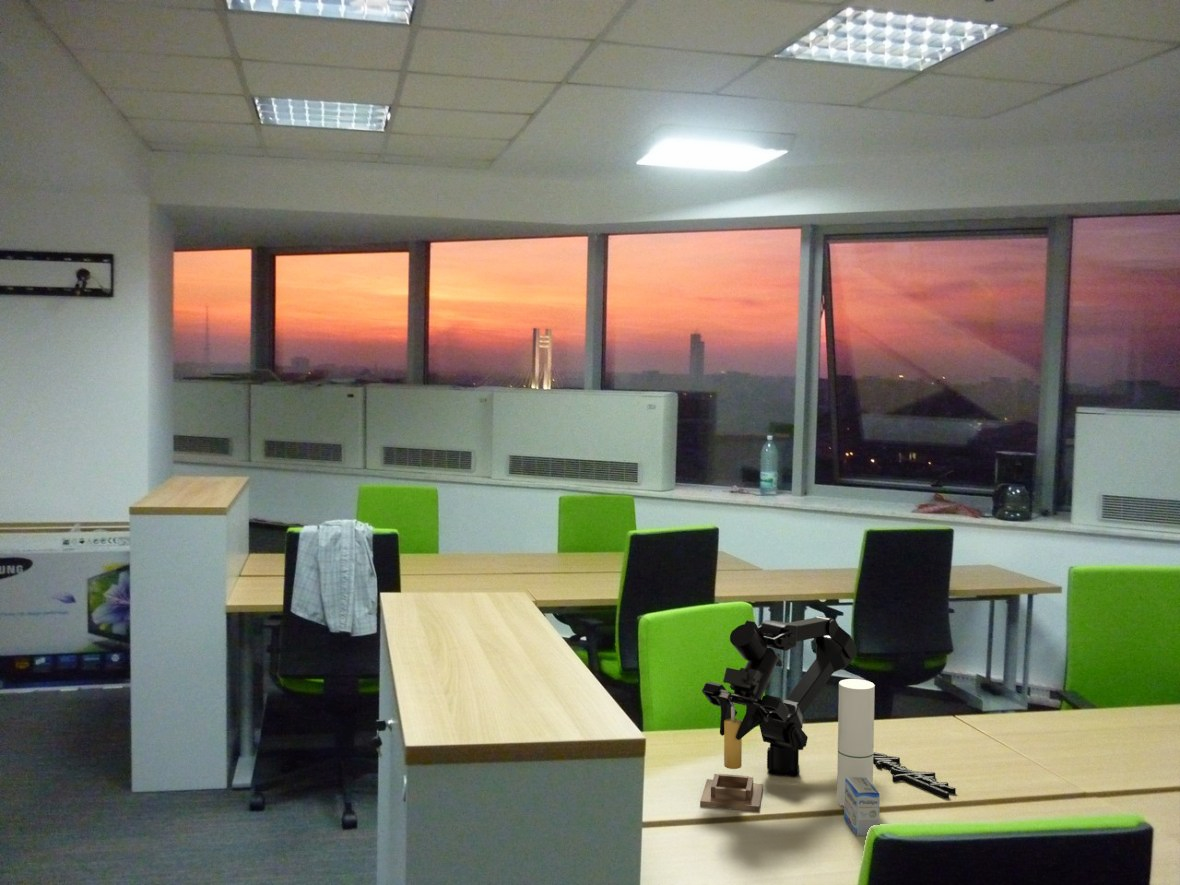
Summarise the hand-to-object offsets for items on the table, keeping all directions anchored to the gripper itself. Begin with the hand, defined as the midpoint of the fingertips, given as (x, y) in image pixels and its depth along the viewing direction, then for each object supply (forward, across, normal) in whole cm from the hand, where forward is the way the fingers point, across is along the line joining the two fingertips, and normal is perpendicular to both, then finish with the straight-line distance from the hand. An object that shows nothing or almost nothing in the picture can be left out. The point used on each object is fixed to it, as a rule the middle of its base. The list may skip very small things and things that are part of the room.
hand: (729, 736), depth 216 cm
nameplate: (-16, +22, +36) cm, 45 cm away
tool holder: (+8, 0, +10) cm, 13 cm away
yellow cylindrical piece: (+4, 0, +6) cm, 7 cm away
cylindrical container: (-1, +21, +21) cm, 29 cm away
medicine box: (+6, +27, +14) cm, 31 cm away
